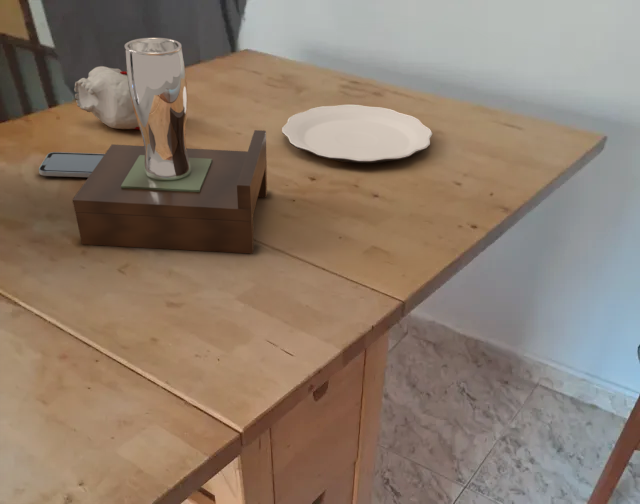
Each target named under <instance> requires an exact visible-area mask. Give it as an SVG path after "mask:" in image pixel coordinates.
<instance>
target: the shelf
mask: <svg viewBox="0 0 640 504" xmlns="http://www.w3.org/2000/svg"><path fill="white" fill-rule="evenodd" d="M186 149H187V154H188V157H189V161H190V165H191V173H190V174H189V175H188V176H186V177H184V178H181V179H178V180H171V181H162V180H155V179H152V178H150V177H148V176H147V175H146V174H145V172H144V160H145V150H144V145H131V144H113V143H112V144H111V145H110V146H109V148H108V149H107V150H106V152H105V153H104V154H105V155H104V156H103V158H102V159H101V160H100V162H99V163H98V165H97V166H96V167H95V169H94V170H93V172H92V173H91V175H90V176H89V177H87V179H86V180H85V181H84V183H83V184H82V186H81V187H80V188H79V190H78V191H77V192H76V193H75V196H74V197H73V199H72V205H73V209H74V214H75V218H76V222H77V223H76V224H77V227H78V230H79V231H78V233H79V236H80V240H81V245H87V246H89V245H90V246H104V247H105V246H107V247H123V248H124V247H126V248H143V249H162V250H181V251H195V252H196V251H198V252H213V253H214V252H215V253H217V252H218V253H232V254H233V253H236V254H253V253H254V249H255V238H254V213H255V208H256V206H257V201H258V198H267V195H268V169H267V166H268V164H267V160H268V159H267V131H266V130H260V129H259V130H258V129H255V130H254V131H253V133H252V136H251V140H250V143H249V146H248V149H247V151H245V150H225V149H207V148H191V147H190V148H187V147H186Z"/></svg>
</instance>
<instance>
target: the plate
mask: <svg viewBox="0 0 640 504" xmlns="http://www.w3.org/2000/svg"><path fill="white" fill-rule="evenodd" d="M281 133H282V135H283V136H285V137H286V138H287V139H288V141H289V144H290V145H292V146H293V147H294V148H296V149H299V150H301V151H305V152H307V153H311V154H313V155H315V156H317V157H319V158H324V159H327V160H331V161H336V162H337V161H338V162H344V163H352V164H377V163H384V162H390V161H400V160H403V159H408V158H409V157H411V156H413V155H414V154H416V153H419V152H422V151H425V150H426V149H428V148H429V147H430V146H431V138H432V136H433V132H432V130H431V129H430V127H428V126H426V125H424V124H423V123H422V121H421V120H420V119H419V118H417V117H415V116H414V115H413V116H412V115H410V114H406V113H402V112H399V111H397V110H394V109H391V108H386V107H381V106H368V105H361V104H339V105H324V106H322V105H321V106H317V107H311V108H310V109H307V110H305V111H301V112H297V113H294V114H293V115H291V116H290V117H288V118H287V122H286V123H285V124H284V125H283V126H282V127H281Z"/></svg>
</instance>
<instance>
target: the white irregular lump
mask: <svg viewBox="0 0 640 504" xmlns="http://www.w3.org/2000/svg"><path fill="white" fill-rule="evenodd" d="M73 90H74V93H75V94H74V98H75V99H76V100H75V103H76V106H77V107H78V108H79V109H80V110H82V111H85V112H87V113H92V114H93V115H94V116H95V118H96V119H98V120H99V121H100V122H101V123H103V124H104V125H106V126H107V127H109V128H111V129H118V130H137V131H140V128H139V124H138V121H137V118H136V115H135V112H134V108H133V105H132V101H131V97H130V92H129V86H128V79H127V71H122V70H121V69H119V68H112V67H107V66H105V65H104V66H103V65H100V66H96V67H94V68H93V69H91V70H90V71H89V72H88V77H87V78H85V77H82V78H80V79H79V80H77V81H75V83H74V89H73Z"/></svg>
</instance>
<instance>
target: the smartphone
mask: <svg viewBox="0 0 640 504" xmlns="http://www.w3.org/2000/svg"><path fill="white" fill-rule="evenodd" d="M104 155H105V153H91V152H69V151H67V152H66V151H65V152H64V151H52V152H48V153H47V154H46V156H45V157H44V159H43V160H42V162H41V164H40V166H39V168H38V173H39V175H41V176H44V177H71V178H88V177H89V176H90V175H91V173H92V172H93V170H94V169H95V167H96V166H97V165H98V163H99V162H100V160H101V159H102V158H103V156H104Z"/></svg>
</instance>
